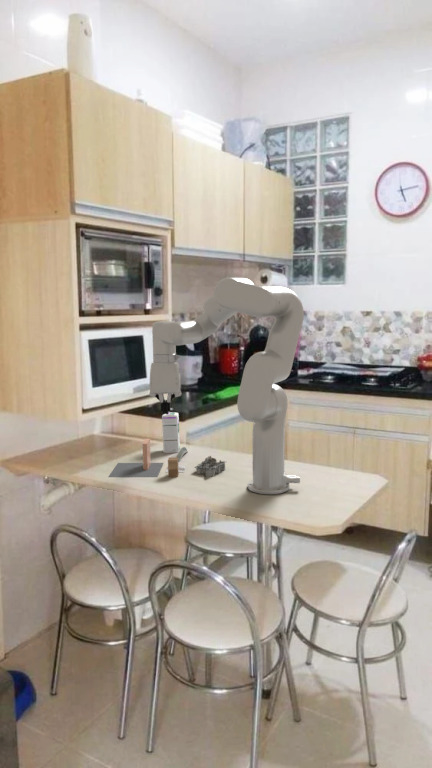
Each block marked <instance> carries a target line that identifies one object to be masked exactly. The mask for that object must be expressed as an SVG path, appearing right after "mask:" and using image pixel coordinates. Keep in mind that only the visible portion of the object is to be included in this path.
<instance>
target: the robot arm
mask: <svg viewBox="0 0 432 768" xmlns="http://www.w3.org/2000/svg"><path fill="white" fill-rule="evenodd" d="M203 311H204V312H203V313H202V314H201V315H198V316H197V317H196V318H194V319H191V320H182V321H167V320H165V321H164V320H163V321H161V320H160V321H155V322H153V324H152V325H151V329H152V331H151V332H152V333H151V334H152V359H153V361H152V362H151V363H150V364H151V365H150V371H149V393H148V394H149V395H148V396H149V397H152V398H156V399H157V400H158V401H159V402H160V412H162V415H163V414H168V413H169V412H171V409H172V408H171V402H172V401H173V399H175V398H178V397H181V396H182V391H181V390H182V379H181V369H180V364H179V362H177V361H179V360H181V355H178V354H177V352H176V351H177V350H176V349H177V346H184V345H191V344H197V343H201V341H203V340H205V339H207V338H208V337H210V336H211V335H213V334H214V333H216V332H217V331H218V330H219V329H220V327H221V325H222V323H224V322H225V321H227V320H228V319H230V318H232V317H233V316H235V315H236V314H238V313H241V314H243V315H247V316H249V317H250V316H251V317H255V318H261V319H262V318H272V317H274V323H273V324H272V326H271V328H270V330H269V332H268V338H267V342H266V345H265V348H264V350H263V351H258V352H256V353H254V354H253V355H251V356H250V357H249V359H248V360H247V362H246V363H245V366H244V368H243V373H242V378H241V383H240V385H239V391H238V395H237V401H236V402H237V403H236V404H237V410H238V413H239V416H241V418H242V419H243V420H245V421H246V422H250V423H253V425H252V440H251V441H252V442H251V443H252V480H250V481H248V482H247V489H248V490H249V491H250V492H252V493H256V494H261V495H277V494H279V495H280V494H284V493H286V492H287V491H289V490H290V486H291V485H290V484H300V483H301V477H300V476H296V475H295V474H294V475H292V474H291V475H288V474H286V471H285V437H286V436H285V433H286V431H285V427H286V417H287V410H288V395H287V393H286V392H285V390H284V389H283V388H282V387H281V386H280V385H278V384H277V383H279V382H283V381H285V380H286V379H288V377H290V374H291V372H292V368H293V363H294V359H295V356H296V351H297V346H298V341H299V337H300V334H301V331H302V328H303V327H302V326H303V322H304V316H305V315H304V314H305V313H304V307H303V303H302V301H301V299H300V297H299V296H298V294H296V293H295V292H294V291H293V290H291V289H290V288H287V287H286V286H285V287H284V286H260V285H255V284H254V282H253V281H252V280H250V279H248V278H246V277H224V278H222V279H221V280H219V281H218V282H217V283H216V285H214V290H213V295H211V296H210V297H208V298H207V299H206V300H204V303H203ZM164 394H167V396H166V397H167V399H165V395H164Z"/></svg>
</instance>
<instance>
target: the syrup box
mask: <svg viewBox="0 0 432 768" xmlns="http://www.w3.org/2000/svg"><path fill="white" fill-rule="evenodd" d="M179 416H180V415H179V412H174V411H169V413H168V414H163V413H162V415H161V420H162V422H161V423H162V424H161V425H162V427H161V428H162V440H163V441H162V444H163V445H162V446H163V447H162V448H163V453H167V454H171V453H176V454H178V452H179V450H180V449H181V440H180V439H181V438H180V418H179Z"/></svg>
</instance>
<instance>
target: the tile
mask: <svg viewBox="0 0 432 768" xmlns="http://www.w3.org/2000/svg"><path fill="white" fill-rule="evenodd" d="M141 446H142V463H143V469H144V470H148V468H149V466H150V465H151V463H152V460H151V456H152V455H151V439H150V438H145V439H144V440H143V442H142V445H141Z"/></svg>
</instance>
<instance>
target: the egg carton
mask: <svg viewBox="0 0 432 768" xmlns="http://www.w3.org/2000/svg"><path fill="white" fill-rule="evenodd" d="M194 469H195V470H196V474H198V475H200V474H204V475H205V477H215V476H216V474H220V473H221V471H222V472H223V471H226V461H225V460H223V461H222V460H219V461H217V459H216V458H215V457H212V455H209V456H207V457H206V458H204V461H203V460H202V462H200V463H198V464H197V465H196V466H194Z"/></svg>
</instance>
